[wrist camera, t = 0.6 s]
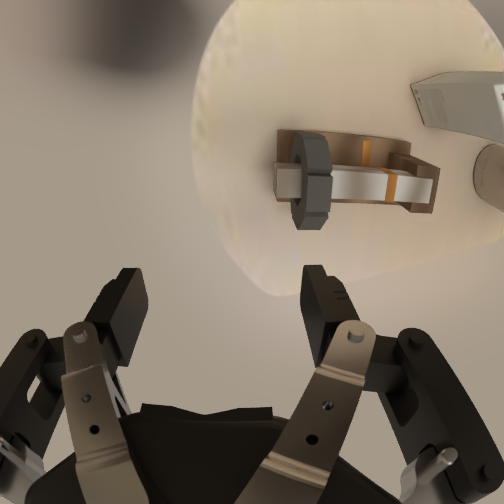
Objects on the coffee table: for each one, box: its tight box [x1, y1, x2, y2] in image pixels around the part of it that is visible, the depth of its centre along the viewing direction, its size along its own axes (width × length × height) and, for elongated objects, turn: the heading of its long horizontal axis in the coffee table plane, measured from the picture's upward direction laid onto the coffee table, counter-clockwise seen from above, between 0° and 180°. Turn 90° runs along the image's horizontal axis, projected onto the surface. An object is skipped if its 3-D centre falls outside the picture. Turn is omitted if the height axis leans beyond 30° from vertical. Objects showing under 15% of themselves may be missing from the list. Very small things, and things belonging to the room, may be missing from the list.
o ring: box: [290, 132, 333, 230], centre depth 26 cm, size 2×9×9 cm, turn 0°
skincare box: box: [411, 71, 504, 144], centre depth 21 cm, size 8×6×15 cm
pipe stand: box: [273, 129, 440, 214], centre depth 29 cm, size 17×8×8 cm, turn 90°
